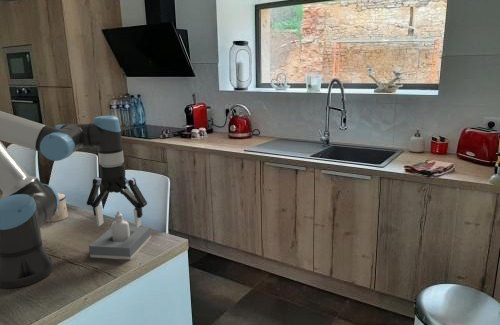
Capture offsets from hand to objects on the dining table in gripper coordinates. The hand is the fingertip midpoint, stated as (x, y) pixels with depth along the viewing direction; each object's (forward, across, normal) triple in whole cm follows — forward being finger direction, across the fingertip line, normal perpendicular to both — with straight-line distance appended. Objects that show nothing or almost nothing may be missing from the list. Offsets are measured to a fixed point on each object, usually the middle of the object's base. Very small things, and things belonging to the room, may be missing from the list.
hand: (119, 225), depth 129 cm
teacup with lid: (+8, +39, -20) cm, 44 cm away
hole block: (+8, 0, 0) cm, 8 cm away
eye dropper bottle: (+7, 0, 0) cm, 7 cm away
